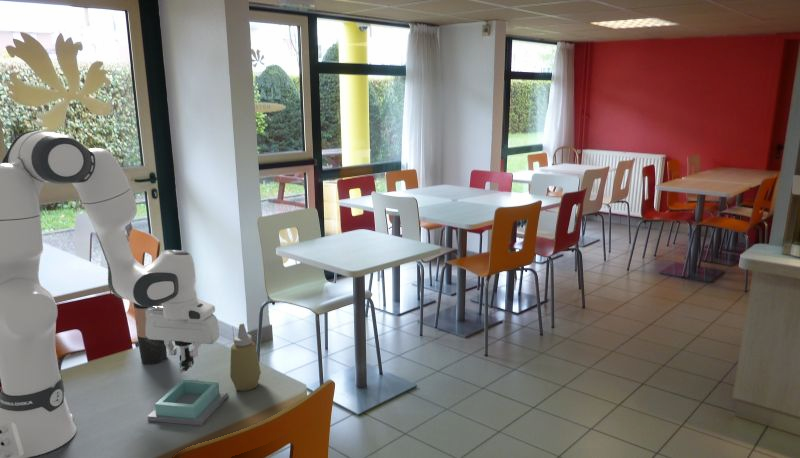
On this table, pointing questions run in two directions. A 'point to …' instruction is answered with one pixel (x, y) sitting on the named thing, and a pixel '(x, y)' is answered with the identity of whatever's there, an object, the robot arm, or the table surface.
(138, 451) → the table surface
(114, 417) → the table surface
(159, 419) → the socket plate
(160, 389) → the table surface
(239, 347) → the squeeze bottle
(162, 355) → the travel mug
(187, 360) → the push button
